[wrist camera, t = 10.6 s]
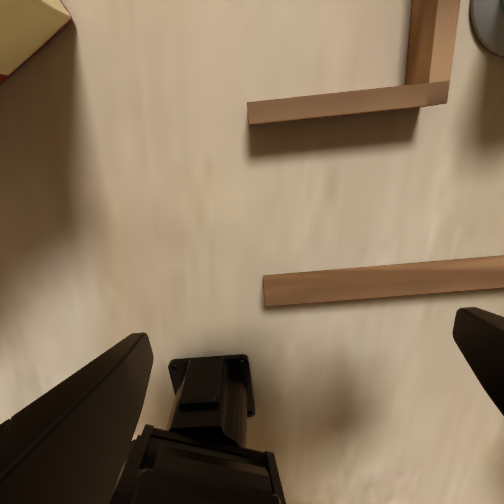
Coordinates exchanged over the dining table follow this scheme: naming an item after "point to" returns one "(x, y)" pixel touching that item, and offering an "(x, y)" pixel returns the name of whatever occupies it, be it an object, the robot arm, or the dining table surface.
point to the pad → (489, 24)
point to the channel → (376, 100)
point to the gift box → (27, 29)
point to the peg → (502, 5)
